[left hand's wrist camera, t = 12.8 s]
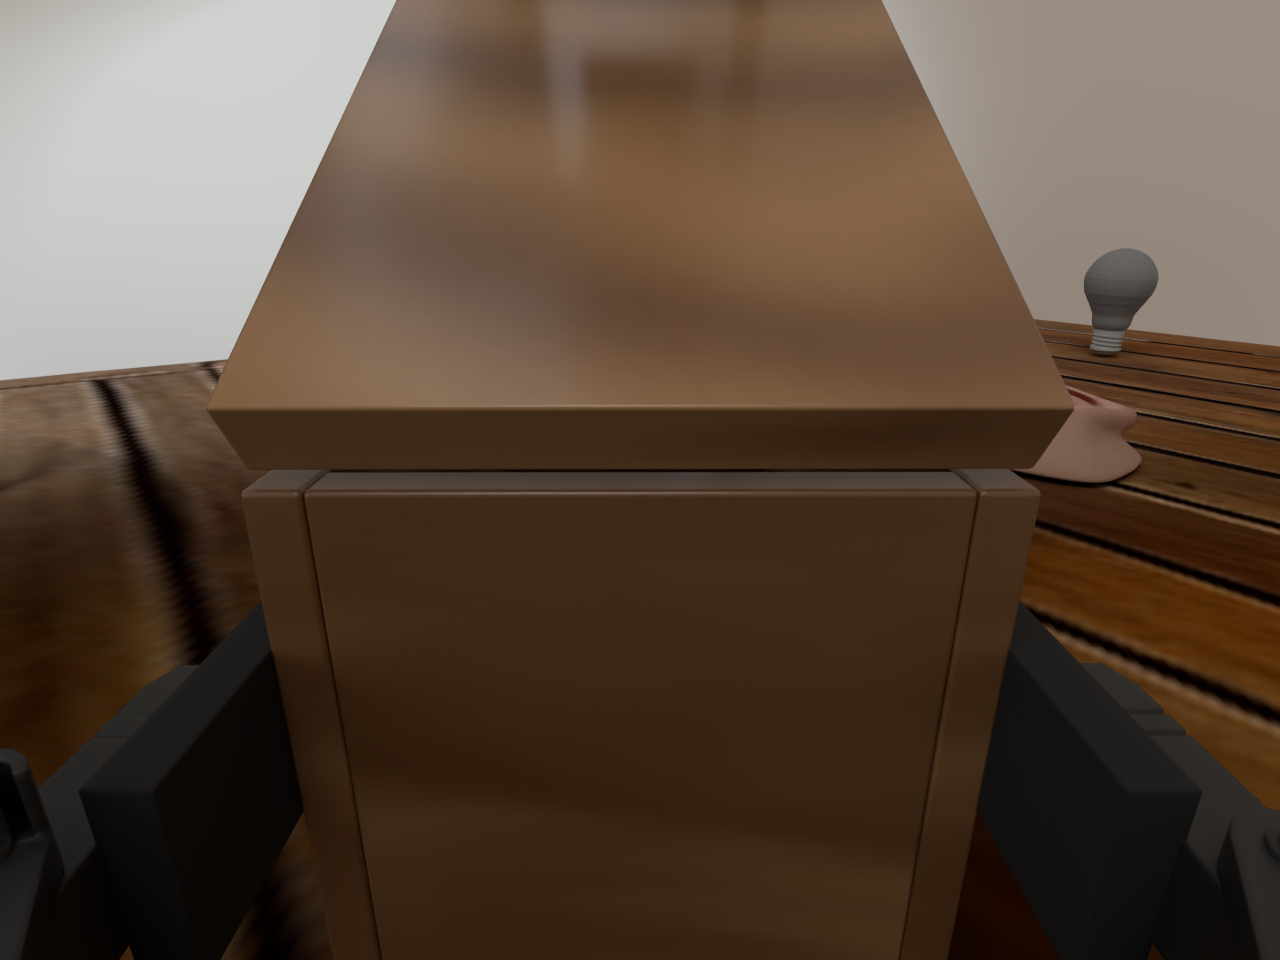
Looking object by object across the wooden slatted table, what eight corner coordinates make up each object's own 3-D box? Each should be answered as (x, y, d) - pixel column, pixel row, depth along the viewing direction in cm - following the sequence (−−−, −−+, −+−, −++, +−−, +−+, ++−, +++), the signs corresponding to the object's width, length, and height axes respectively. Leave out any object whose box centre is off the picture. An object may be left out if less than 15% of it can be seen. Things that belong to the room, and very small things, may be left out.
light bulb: (1084, 358, 71) (1107, 250, 67) (1060, 347, 76) (1080, 246, 73) (1151, 360, 70) (1178, 250, 67) (1122, 349, 76) (1146, 247, 72)
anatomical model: (1178, 418, 36) (928, 394, 40) (1158, 494, 37) (918, 463, 42) (1136, 368, 47) (944, 353, 52) (1122, 427, 49) (936, 409, 53)
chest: (505, 610, 27) (484, 316, 23) (772, 610, 27) (792, 317, 23) (353, 1073, 12) (236, 491, 9) (926, 1070, 13) (1045, 490, 9)
